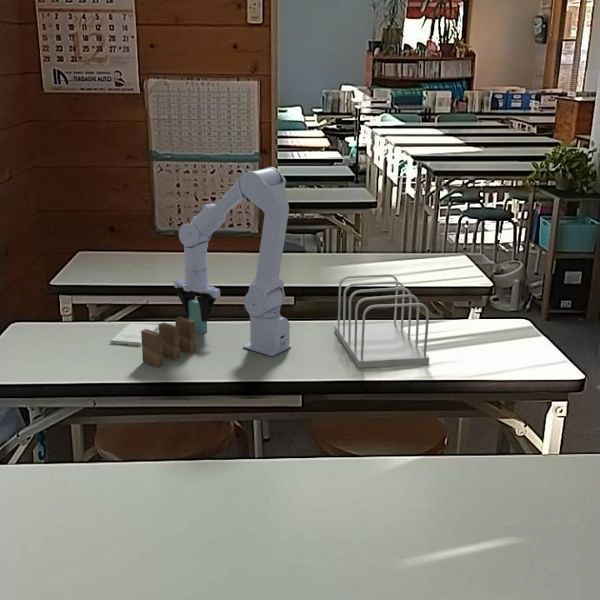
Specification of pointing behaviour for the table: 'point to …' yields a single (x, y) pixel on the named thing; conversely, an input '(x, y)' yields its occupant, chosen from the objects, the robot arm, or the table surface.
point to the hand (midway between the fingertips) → (197, 318)
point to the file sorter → (381, 330)
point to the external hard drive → (133, 334)
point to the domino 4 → (196, 316)
